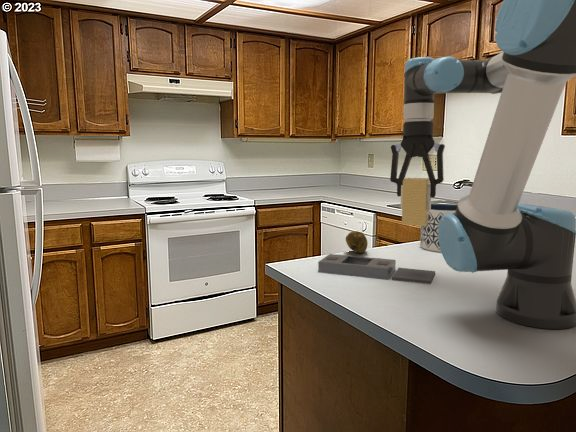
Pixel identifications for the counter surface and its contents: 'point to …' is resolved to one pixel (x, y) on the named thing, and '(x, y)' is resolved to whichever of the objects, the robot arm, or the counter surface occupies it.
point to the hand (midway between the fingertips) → (415, 209)
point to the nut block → (415, 201)
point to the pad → (414, 275)
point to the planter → (434, 226)
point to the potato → (357, 241)
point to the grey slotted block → (357, 266)
